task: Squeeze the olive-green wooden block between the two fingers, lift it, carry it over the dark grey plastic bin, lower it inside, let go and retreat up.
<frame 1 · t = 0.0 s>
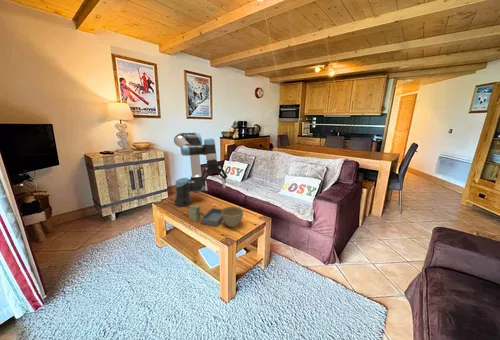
hand: (215, 189, 145), 28 cm above the table, fingers open, 13 cm apart
planter bowl: (232, 224, 153), on the table
bin: (214, 219, 159), on the table
olive block: (194, 218, 160), on the table
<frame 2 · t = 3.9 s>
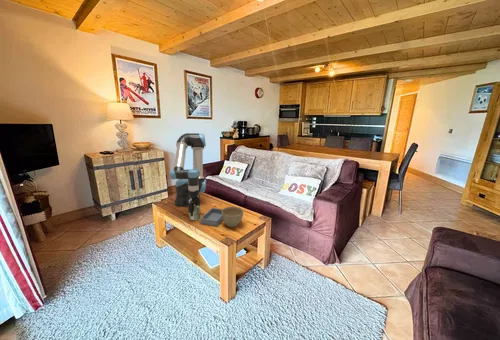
hand: (194, 217, 159), 1 cm above the table, fingers closed on olive block, 6 cm apart
olive block: (194, 218, 160), on the table, touching gripper
everything else where it was.
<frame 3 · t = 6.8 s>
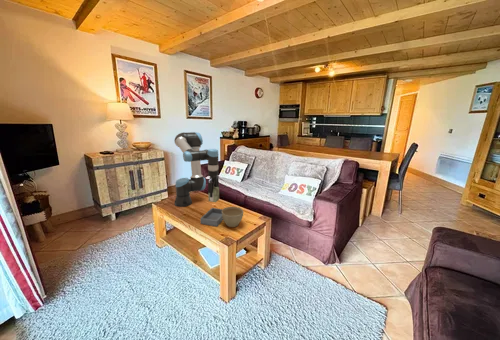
hand: (213, 199, 155), 17 cm above the table, fingers closed on olive block, 6 cm apart
olive block: (213, 200, 155), point 16 cm above the table, touching gripper
everything else where it was.
when the fingers open (4 cm above the table, at t = 10.0 s): olive block drops 2 cm, resting on bin.
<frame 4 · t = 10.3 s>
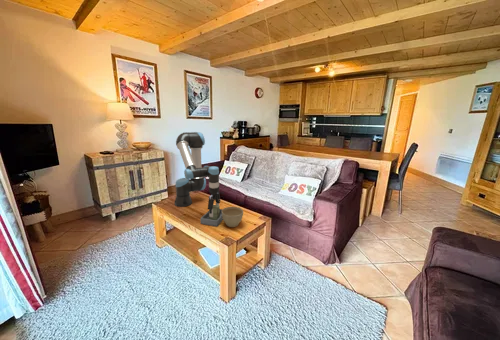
hand: (214, 213, 158), 5 cm above the table, fingers open, 10 cm apart
olive block: (214, 218, 159), point 1 cm above the table, touching bin
everything else where it was.
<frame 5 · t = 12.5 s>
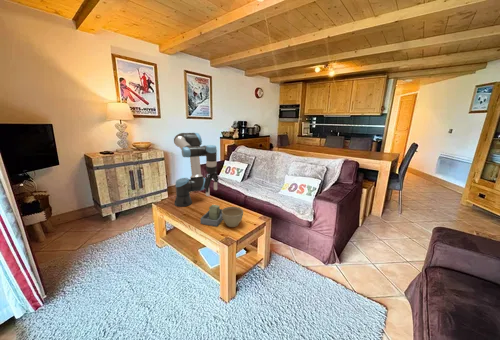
hand: (211, 192, 156), 21 cm above the table, fingers open, 13 cm apart
nothing on the table moved.
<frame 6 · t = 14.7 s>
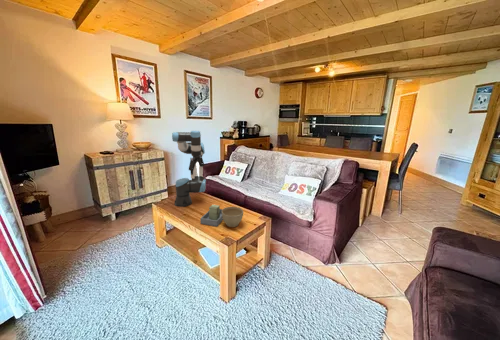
hand: (197, 176, 166), 31 cm above the table, fingers open, 13 cm apart
nothing on the table moved.
at the end: olive block inside the target area on the bin (0.1 cm from its centre), point 0.8 cm above the bin's base; the gripper is holding nothing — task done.
